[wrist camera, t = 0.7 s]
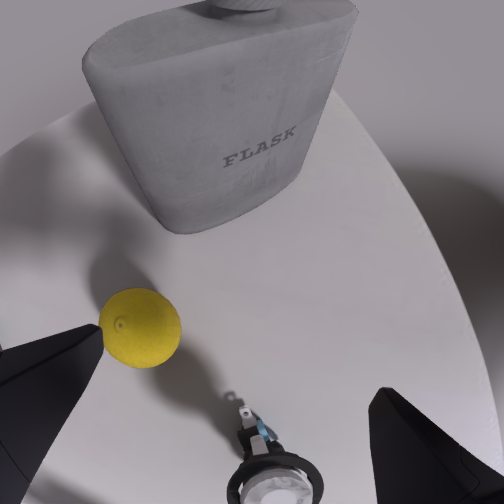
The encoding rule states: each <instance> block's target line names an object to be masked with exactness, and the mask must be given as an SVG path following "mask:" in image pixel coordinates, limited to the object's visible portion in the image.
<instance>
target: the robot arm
mask: <svg viewBox="0 0 504 504" xmlns="http://www.w3.org/2000/svg"><path fill="white" fill-rule="evenodd" d="M103 351H104V343H103V330H102V328H101V327H99V326H97V325H94V324H87V325H84V326H81V327H78V328H74V329H71V330H68V331H65V332H62V333H59V334H55V335H52V336H49V337H46V338H42V339H39V340H36V341H33V342H29V343H26V344H23V345H19V346H16V347H13V348H9V349H6V350H3V351H0V504H20V503H21V501H22V499H23V497H24V495H25V493H26V491H27V489H28V487H29V486H30V483H31V481H32V479H33V478H34V476H35V474H36V472H37V470H38V468H39V467H40V465H41V463H42V461H43V459H44V458H45V456H46V454H47V452H48V450H49V449H50V447H51V445H52V443H53V442H54V440H55V438H56V437H57V435H58V433H59V432H60V430H61V428H62V427H63V425H64V423H65V422H66V420H67V418H68V417H69V415H70V413H71V412H72V410H73V408H74V407H75V405H76V404H77V402H78V400H79V399H80V397H81V396H82V394H83V392H84V391H85V389H86V387H87V385H88V383H89V381H90V379H91V377H92V375H93V373H94V370H95V368H96V366H97V364H98V362H99V360H100V358H101V356H102V354H103ZM368 414H369V432H370V450H371V457H372V464H373V471H374V479H375V487H376V495H377V504H504V476H502V475H501V474H499V473H498V472H496V471H495V470H493V469H492V468H490V467H489V466H487V465H486V464H485V463H483V462H482V461H480V460H479V459H477V458H476V457H475V456H474V455H472V454H471V453H470V452H468V451H467V450H466V449H465V448H464V447H462V446H461V445H460V446H459V443H457V442H456V441H455V440H454V439H453V438H451V437H450V436H449V435H448V434H447V433H445V432H444V431H443V430H442V429H441V428H439V427H438V426H437V425H436V424H435V423H433V422H432V421H431V420H430V419H429V418H427V417H426V416H425V415H424V414H423V413H421V412H420V411H419V410H418V409H417V408H415V407H414V406H413V405H412V404H411V403H410V402H408V401H407V400H406V399H405V398H404V397H402V396H401V395H400V394H399V393H398V392H396V391H395V390H394V389H393V388H388V387H382V388H380V389H379V390H378V392H377V393H376V395H375V397H374V398H373V400H372V402H371V403H370V405H369V409H368Z"/></svg>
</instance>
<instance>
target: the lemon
mask: <svg viewBox="0 0 504 504" xmlns="http://www.w3.org/2000/svg"><path fill="white" fill-rule="evenodd" d="M99 327H101V328H102V330H103V343H104V347H105V349H106V350H107V351H108V352H109V353H110V354H111V356H112V357H114V358H115V359H116V360H118V361H119V362H121V363H123V364H125V365H128V366H131V367H134V368H150V367H155V366H157V365H159V364H161V363H163V362H165V361H166V360H167V359H168V358H170V357H171V356H172V355H173V353H174V352H175V350H176V349H177V347H178V344H179V341H180V338H181V324H180V318H179V316H178V314H177V311H176V309H175V308H174V307H173V305H172V304H171V303H170V301H169V300H167V299H166V298H165V297H164V296H162V295H161V294H159V293H157V292H155V291H153V290H150V289H145V288H129V289H125V290H123V291H120V292H118V293H116V294H115V295H114V296H112V297H111V298H110V299H109V300H108V301H107V302H106V304H105V305H104V307H103V309H102V311H101V313H100V317H99Z"/></svg>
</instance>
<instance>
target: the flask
mask: <svg viewBox="0 0 504 504" xmlns="http://www.w3.org/2000/svg"><path fill="white" fill-rule="evenodd" d="M358 13H359V11H358V9H357V8H356V6H355V5H354V4H353V3H352V2H351V1H349V0H206V1H202V2H198V3H193V4H189V5H185V6H181V7H177V8H173V9H169V10H164V11H161V12H156V13H153V14H149V15H146V16H142V17H139V18H136V19H133V20H130V21H127V22H125V23H123V24H121V25H119V26H117V27H115V28H113V29H111V30H109V31H108V32H106V33H105V34H104V35H103V36H101V37H100V38H99V39H98V40H97V41H95V42H94V43H93V44H92V45H91V46H90V47H89V48H88V50H87V52H86V53H85V55H84V57H83V59H82V71H83V73H84V75H85V78H86V80H87V82H88V84H89V87H90V88H91V91H92V93H93V95H94V97H95V99H96V102H97V104H98V106H99V108H100V110H101V112H102V114H103V116H104V118H105V120H106V122H107V124H108V126H109V128H110V130H111V132H112V134H113V136H114V138H115V140H116V142H117V144H118V146H119V148H120V150H121V152H122V154H123V156H124V158H125V160H126V162H127V164H128V165H129V167H130V169H131V171H132V173H133V175H134V177H135V179H136V180H137V182H138V184H139V186H140V188H141V190H142V191H143V193H144V195H145V197H146V199H147V200H148V202H149V204H150V206H151V208H152V209H153V211H154V213H155V215H156V216H157V218H158V220H159V222H160V223H161V224H162V225H163V226H164V227H165V229H166V230H168V231H171V232H173V233H175V234H192V233H198V232H202V231H205V230H208V229H211V228H214V227H216V226H219V225H221V224H224V223H226V222H228V221H231V220H233V219H235V218H237V217H239V216H241V215H243V214H245V213H247V212H249V211H251V210H253V209H254V208H256V207H258V206H259V205H261V204H263V203H264V202H266V201H267V200H269V199H270V198H272V197H273V196H275V195H276V194H277V193H279V192H280V191H281V190H283V189H284V188H285V187H286V186H287V185H289V184H290V183H291V182H292V181H293V180H294V179H295V178H296V176H297V175H298V174H299V172H300V170H301V167H302V165H303V162H304V160H305V157H306V154H307V152H308V149H309V147H310V144H311V141H312V139H313V136H314V133H315V131H316V128H317V125H318V123H319V120H320V117H321V115H322V112H323V110H324V107H325V104H326V101H327V99H328V96H329V93H330V91H331V88H332V85H333V83H334V80H335V77H336V75H337V72H338V69H339V66H340V63H341V61H342V58H343V55H344V53H345V50H346V47H347V44H348V41H349V39H350V36H351V33H352V30H353V28H354V25H355V22H356V19H357V16H358Z"/></svg>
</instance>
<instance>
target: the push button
mask: <svg viewBox="0 0 504 504" xmlns="http://www.w3.org/2000/svg"><path fill="white" fill-rule="evenodd" d="M239 412H240V415H241V417H242V424H243V426H242V429H241V430H238V431H237V433H238V438H239V441H240V443H241V445H242V452H243V454H244V462H243V463H241V464H240V466H239V468H238V470H237V471H236V472H235V473H234V474H233V476H232V477H231V479H230V481H229V483H228V486H227V502H228V504H319V502H320V500H321V498H322V495H323V490H324V484H323V479H322V476H321V474H320V473H319V471H318V470H317V469H316V467H315V466H314V465H313V464H312V463H310V462H309V461H307V460H306V459H304V458H301V457H299V456H298V455H297V454H293V453H289V452H285V450H284V448H283V446H282V445H281V443H280V440H279V438H278V436H277V434H276V437H277V440H274V441H272V442H271V441H270V438H269V436H268V433H267V431H266V428H265V426H264V424H263V422H262V419H260V420H258V421H257V420H256V418H255V415H254V416H253V415H252V413H251V410H250V408H249V406H248V405H244V406H241V407H239ZM244 412H248V413H246V414H245V413H244ZM299 469H301V470H302V471H304V472H305V473H306V474H307V477H305V476H304V475H302V474H301V472H300V470H299ZM242 482H243V488H242V490H241V495H240V494H239V492H238V490H239V487H240V485H241V483H242Z"/></svg>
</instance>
